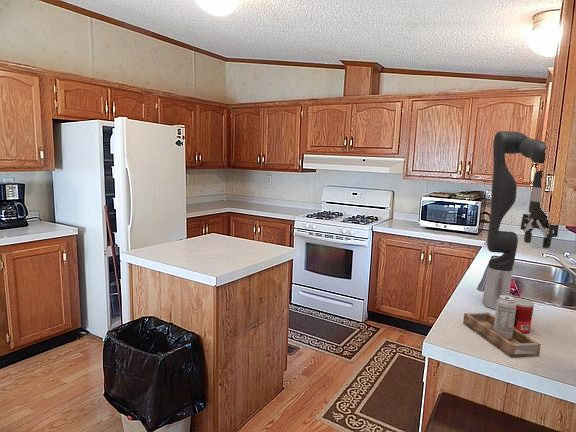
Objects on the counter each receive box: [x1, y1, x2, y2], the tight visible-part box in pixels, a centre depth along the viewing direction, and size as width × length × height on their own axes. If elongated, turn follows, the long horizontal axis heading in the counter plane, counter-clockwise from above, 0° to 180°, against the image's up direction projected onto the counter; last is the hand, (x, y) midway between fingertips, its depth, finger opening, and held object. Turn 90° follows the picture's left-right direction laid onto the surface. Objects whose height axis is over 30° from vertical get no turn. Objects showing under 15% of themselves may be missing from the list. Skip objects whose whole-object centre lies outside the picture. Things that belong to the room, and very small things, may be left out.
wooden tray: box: [462, 312, 542, 358], centre depth 142 cm, size 26×10×4 cm, turn 10°
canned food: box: [513, 297, 535, 335], centre depth 149 cm, size 8×8×11 cm
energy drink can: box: [493, 295, 517, 341], centre depth 139 cm, size 6×6×15 cm
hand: (536, 245), depth 143 cm, fingers open, 8 cm apart
